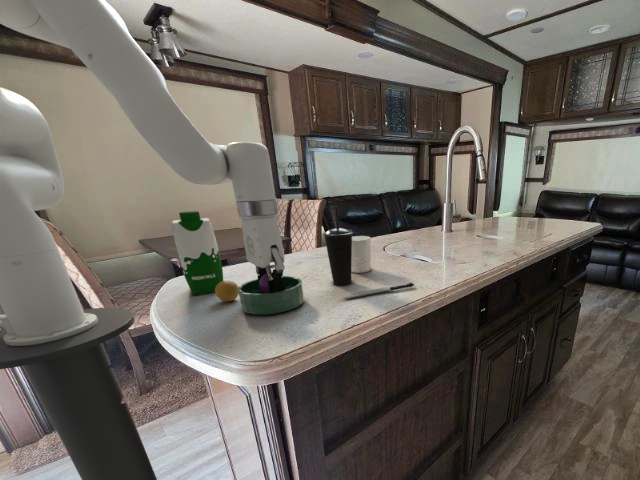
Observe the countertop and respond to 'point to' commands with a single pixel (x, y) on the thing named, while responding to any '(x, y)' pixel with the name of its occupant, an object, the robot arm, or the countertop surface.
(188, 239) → the milk carton
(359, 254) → the white cup
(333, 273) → the drinking cup
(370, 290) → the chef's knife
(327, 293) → the countertop surface
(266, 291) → the plum ball
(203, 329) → the countertop surface
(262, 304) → the bowl
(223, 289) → the ochre ball
